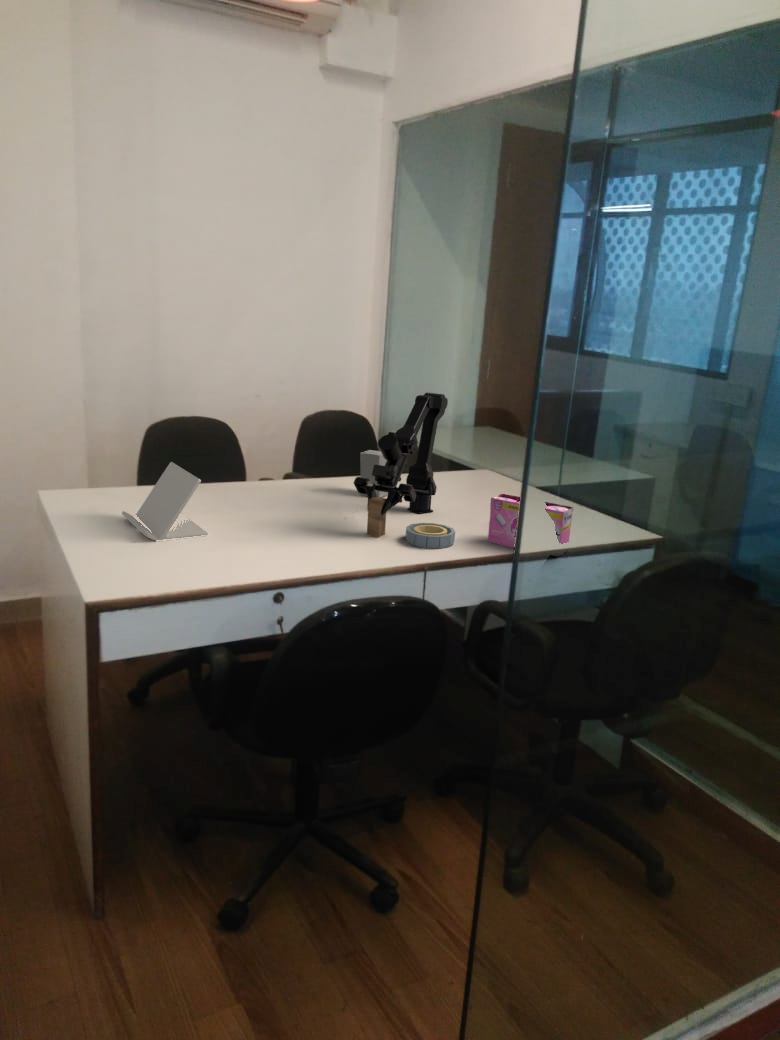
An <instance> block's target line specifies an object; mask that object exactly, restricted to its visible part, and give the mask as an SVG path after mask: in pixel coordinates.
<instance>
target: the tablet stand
mask: <svg viewBox="0 0 780 1040" xmlns="http://www.w3.org/2000/svg"><path fill="white" fill-rule="evenodd" d="M201 482H202V480H201V479H200V478H198V477H197V476H196V475H193V474H192V473H191V472H189V471H187V470H185V469H184V468H182V467H181V466H179V465H178V464H176V463H174V462H173V461H170V462H169V464H168V465H167V467H166V468H165V469H164V471H163V472H162V474H161V476H160V477H159V478H158V480H157V482H156V483H155V485H154V487H152V489H151V491H150V492H149V494H148V495H147V497H146V498H145V500H144V501H143V503H142V505H141V506H140V508H139V509H138V511H137V512H136V513H135V515H137V517H139V519H140V520H141V521H142V522H143V523H144V524H145V525H146V526H147V527H148V528H149V529H150V530H151V532H152V533H151V532H150V531H149V530H148V529H147V528H145V527H144V526H143V525H142V524H141V523H140V522H138V521H137V520H136V519H135V518H134V517H133V516H134V515H132V514H130V513H129V512H126V511H124V510H123V511H122V512H121V515H122V516H124V518H125V519H127V520H128V521H129V522H130V523H131V524H132V525H133V526H134V527H135V528H136V529H137V530H138V531H140V533H141V534H142V535H144V536H145V537H147V538H149V539H151V540H152V541H154V540H163V539H172V538H182V537H183V538H184V537H193V536H201V535H208V536H209V533H208V532H207V531H206V530H204V529H203V528H202V527H201V526H199V525H198V524H196V523H195V522H194V521H193V520H191V519H190V518H189V517H187V518H188V519H189V521H188V520H186V523H185V520H184V523H183V525H182V521H181V524H180V526H179V523H178V525H177V527H176V529H175V530H174V531H173V529H174V528H175V527H174V528H173V529H172V530H171V531H169V530H170V528H171V527H172V525H173V524H174V522H175V521H176V519H177V518H178V516H179V514H180V513H182V511H183V510H184V509H185V507H186V505H187V503H188V502H189V501H190V499H191V497H192V496H193V494H194V493H195V491H196V490H197V489H198V487H199V485H200V484H201ZM190 520H191V521H190ZM187 521H188V522H187ZM141 525H142V526H141ZM181 526H182V527H181ZM177 528H178V529H177ZM193 538H194V537H193ZM184 539H185V538H184Z"/></svg>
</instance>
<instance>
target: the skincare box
mask: <svg viewBox="0 0 780 1040" xmlns="http://www.w3.org/2000/svg"><path fill="white" fill-rule="evenodd" d="M359 454H360V456H359V457H360V460H359V461H360V464H359V465H360V467H359V468H360V471H359V472H360V475H359V477H365V478H369V480H370V482H374V483H375V484H377V481H375V476H372V471H373V467H374V465H382V466H385V463H386V461H387V460H386V459H385V458H384V457H383V455H382V453H381V450H372V449H368V450H365V451H361V452H360V453H359ZM376 495H377V497H380V498H385V497H388V493H387V492H381V491H376ZM360 496H365V497H368V495H366V494H360Z"/></svg>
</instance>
